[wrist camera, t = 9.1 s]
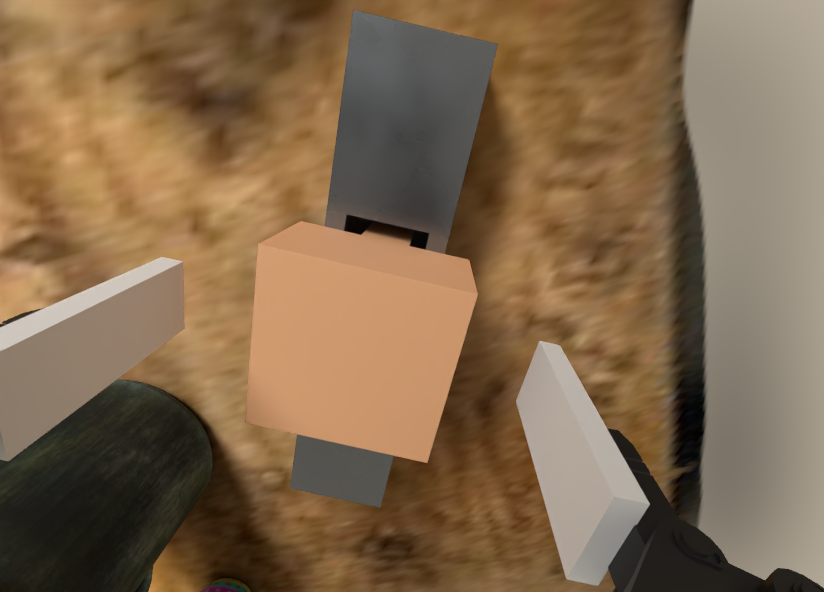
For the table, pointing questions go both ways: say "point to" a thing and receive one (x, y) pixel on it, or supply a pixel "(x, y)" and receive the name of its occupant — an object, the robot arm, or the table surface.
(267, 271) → the tan block with tab
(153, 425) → the mug
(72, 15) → the table surface
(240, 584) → the egg
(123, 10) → the table surface
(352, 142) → the rail
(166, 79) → the table surface
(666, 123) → the table surface
